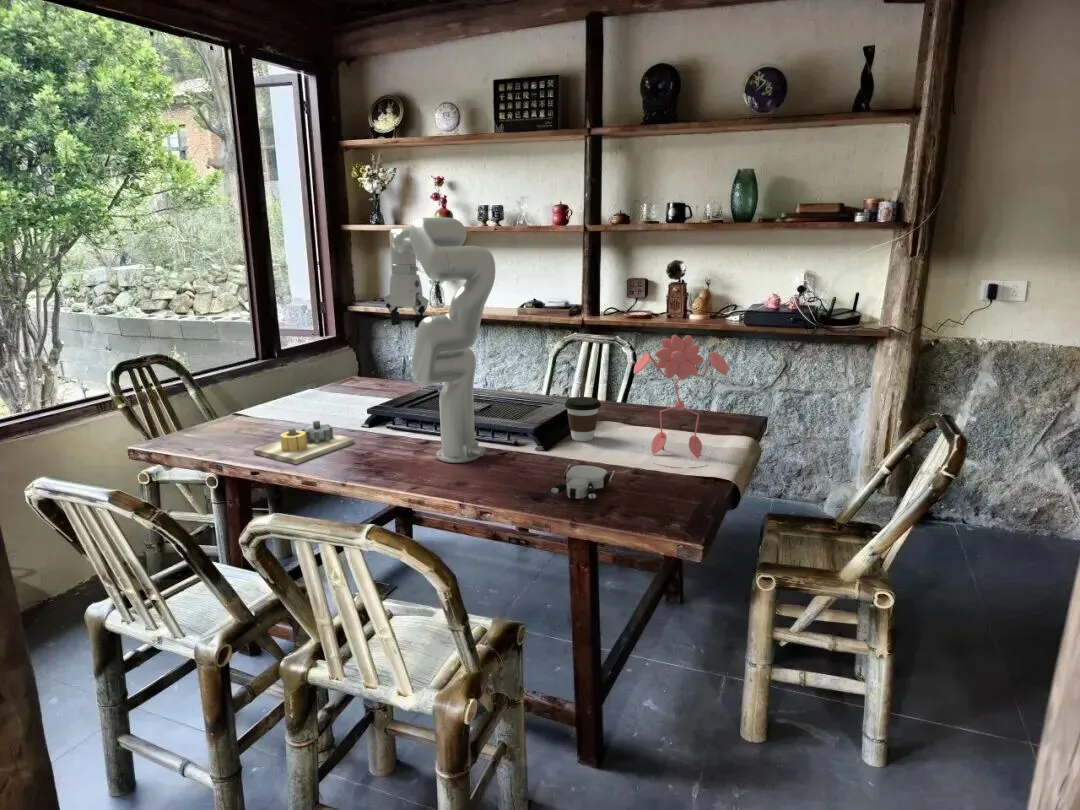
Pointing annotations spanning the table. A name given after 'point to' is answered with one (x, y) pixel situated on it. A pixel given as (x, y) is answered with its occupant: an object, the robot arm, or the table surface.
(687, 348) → the dancing flower figure
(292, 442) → the ochre gear
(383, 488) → the table surface
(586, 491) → the robot toy
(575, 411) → the coffee cup
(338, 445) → the gear board
